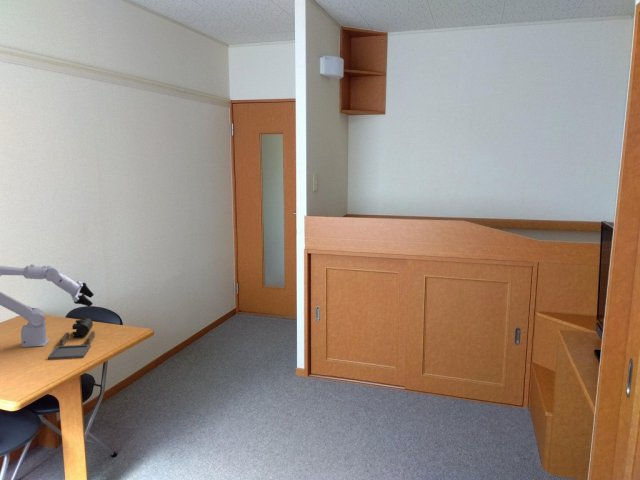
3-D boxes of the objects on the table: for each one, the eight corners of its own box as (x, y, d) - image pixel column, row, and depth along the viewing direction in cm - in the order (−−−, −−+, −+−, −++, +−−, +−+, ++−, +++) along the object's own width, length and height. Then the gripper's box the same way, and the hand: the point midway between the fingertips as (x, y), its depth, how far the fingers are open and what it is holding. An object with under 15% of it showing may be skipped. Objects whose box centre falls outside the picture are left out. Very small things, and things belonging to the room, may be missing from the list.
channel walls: (60, 346, 224) (59, 340, 223) (66, 338, 233) (66, 332, 233) (89, 345, 226) (89, 338, 226) (94, 337, 236) (94, 331, 235)
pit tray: (47, 359, 209) (47, 357, 209) (56, 348, 221) (56, 346, 221) (83, 357, 212) (83, 355, 212) (90, 346, 224) (90, 344, 224)
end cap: (89, 337, 235) (88, 324, 234) (72, 338, 234) (72, 324, 233) (93, 330, 245) (92, 317, 244) (77, 331, 243) (76, 318, 242)
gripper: (71, 287, 224) (96, 303, 231) (75, 271, 236) (98, 286, 243) (60, 297, 224) (85, 313, 232) (64, 280, 236) (88, 296, 244)
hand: (91, 300), depth 237 cm, fingers open, 7 cm apart
